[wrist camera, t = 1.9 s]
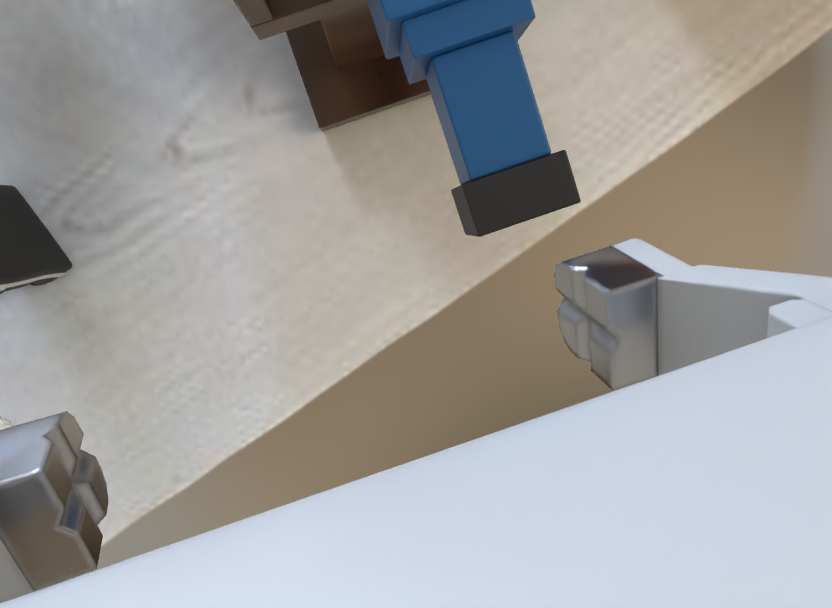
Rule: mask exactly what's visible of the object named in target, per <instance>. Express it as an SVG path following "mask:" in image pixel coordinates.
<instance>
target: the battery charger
mask: <svg viewBox="0 0 832 608" xmlns="http://www.w3.org/2000/svg"><path fill="white" fill-rule="evenodd" d="M71 267H72V263H71V262H70V260H69V259H68V257H67V256H66V255H65V253H64V252H63V250H62V249H61V248H60V246H59V245H58V244H57V242H56V241H55V240H54V238H53V237H52V235H51V234H50V233H49V231H48V230H47V229H46V227H45V226H44V225H43V223H42V222H41V221H40V219H39V218H38V217H37V215H36V214H35V213H34V211H33V210H32V209H31V207H30V206H29V205H28V203H27V202H26V201H25V199H24V198H23V197H22V195H21V194H20V193H19V191H18V190H17V189H16V188H15V187H13V186H8V185H0V294H1V293H3V292H4V291H8V290H12V289H15V288H19V287H23V286H26V285H30V284H31V285H35V286H38V285H43V284H46V283H48V282H51V281H53V280H55V279H56V278H58V277H62V276H63V275H65V274H66V273H67V271H68V270H69V269H71Z"/></svg>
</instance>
